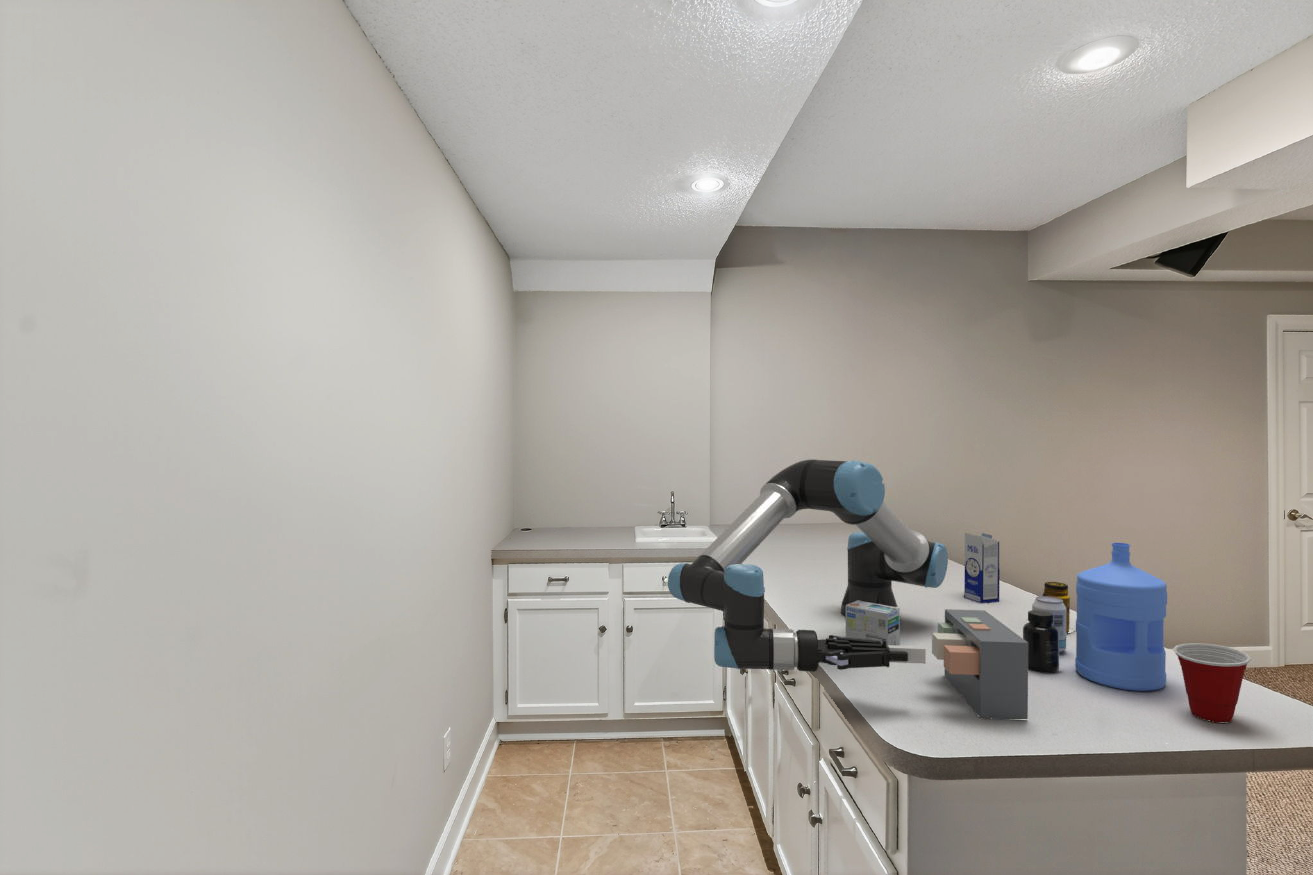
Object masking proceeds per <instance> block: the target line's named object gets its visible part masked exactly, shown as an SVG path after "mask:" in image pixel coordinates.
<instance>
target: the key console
mask: <svg viewBox="0 0 1313 875" xmlns="http://www.w3.org/2000/svg"><path fill="white" fill-rule="evenodd" d="M944 623H953V634H965V635H966V646H978V647H979V648H980V670H979V675H966V674H950V673H949V672H948V671H947V670H946V669H945V668H944V673H943V674H944V675H943V676H944V677H945V676H946V677H945V678H946V679H947V680H948V682H949V683H950V684H951V685H952V686H953V687H954V689H955V688H956V689H955V690H956V691H957V693H959V695H960V694H961V695H962V696H961V695H960V696H961V697H962V699H964V701H965V702H966V703H967V704H968V705H969V707H970V708H971V707H972V708H973V709H972V708H971V709H972V710H973V711H974V712H975V713H977V714H976V715H977V716H978V715H979V716H978V717H979V719H981V718H983V719H984V718H985V719H984V720H1001V719H1028V718H1029V716H1028V715H1029V713H1028V712H1029V708H1028V707H1029V669H1028V642H1027V641H1025V640H1024V639H1023V637H1022V636H1020V635H1018V634H1017V632H1014V631H1013V630H1012V629H1011V628H1009V627H1007V626H1006V625H1005V624H1003V622H1001V621H1000V620H998V619H997V618H996V617H994V616H993V615H992V614H990V613H989V612H987V611H986V610H980V609H979V610H978V609H977V610H976V609H950V608H949V609H948V608H947V609H944ZM991 718H992V719H991Z"/></svg>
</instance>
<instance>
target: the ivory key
mask: <svg viewBox="0 0 1313 875" xmlns="http://www.w3.org/2000/svg"><path fill="white" fill-rule="evenodd" d="M944 645H950V646H966V635H965V634H949V633H938V632H931V653H932V655H933V656H934V657H935V658H936V660H939V661H940V660H941V661H944Z"/></svg>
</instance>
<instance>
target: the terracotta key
mask: <svg viewBox="0 0 1313 875" xmlns="http://www.w3.org/2000/svg"><path fill="white" fill-rule="evenodd" d="M943 668H944V670H945V669H946V670H947V671H948V672H949V673H950V674H966V675H979V670H980V648H979V647H978V646H950V645H944V660H943Z"/></svg>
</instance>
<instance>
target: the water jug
mask: <svg viewBox="0 0 1313 875" xmlns="http://www.w3.org/2000/svg"><path fill="white" fill-rule="evenodd" d="M1111 546H1112V550H1111V561H1110V562H1108V563H1105V564H1102V565H1099V566H1096V567H1093V568H1089V569H1086V570H1083V571H1080V572H1079V573H1077V576H1076V579H1077V580H1076V587H1075V591H1076V592H1075V593H1076V620H1075V630H1076V631H1075V633H1076V634H1075V637H1076V640H1075V641H1076V647H1075V648H1076V649H1075V655H1076V656H1075V658H1074V662H1075V664H1074V666H1075V670H1076V672H1077V673H1078V674H1080V675H1081V676H1082V677H1083V678H1085V679H1087V680H1089V681H1091V682H1093V683H1096V684H1099V685H1103V686H1106V687H1110V688H1114V689H1119V690H1125V691H1126V690H1127V691H1133V692H1134V691H1136V692H1151V691H1158V690H1160V689H1162V688H1164V686H1166V684H1167V672H1166V660H1167V658H1166V656H1167V653H1166V652H1167V651H1166V650H1165V645H1164V624H1165V622H1164V619H1165V618H1166V617H1167V605H1168V591H1167V588H1168V587H1167V583H1166V581H1164V580H1162V579H1160V578H1159V577H1156V576H1154V575H1152V574H1151V573H1149V572H1146V571H1145V570H1143V569H1140V568H1139V567H1136V566H1135V565H1132V563H1131V562H1130V556H1131V552H1130V547H1131V544H1130V543H1125V542H1124V543H1123V542H1111Z"/></svg>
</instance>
